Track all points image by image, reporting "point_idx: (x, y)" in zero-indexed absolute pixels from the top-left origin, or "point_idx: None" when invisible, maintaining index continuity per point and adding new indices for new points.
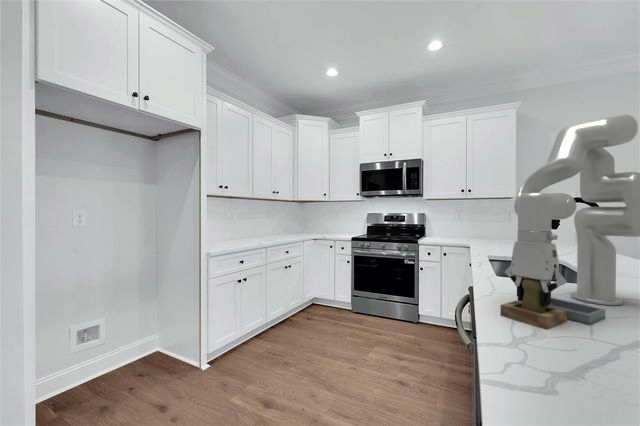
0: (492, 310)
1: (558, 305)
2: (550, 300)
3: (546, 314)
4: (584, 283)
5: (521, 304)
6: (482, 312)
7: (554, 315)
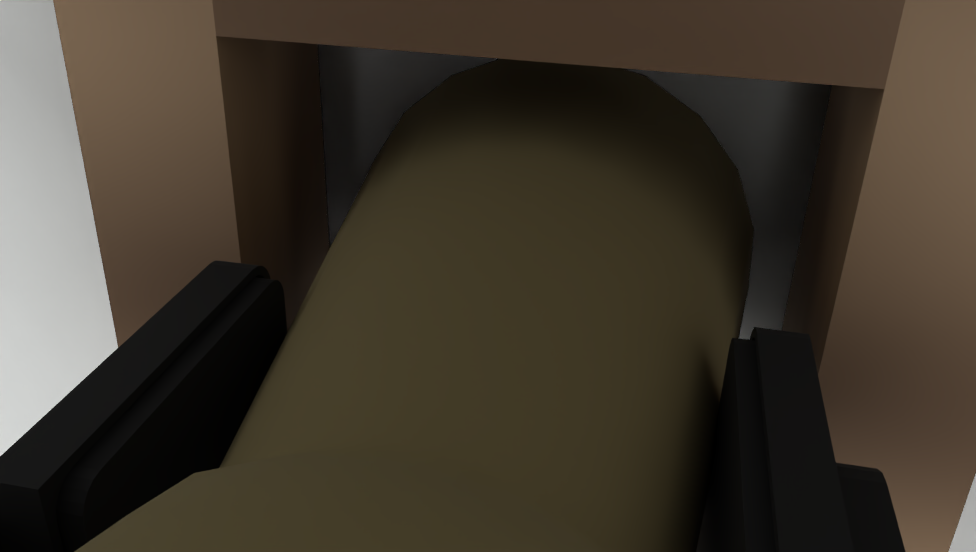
0: (56, 351)
1: None
2: (888, 525)
3: None
4: None
5: (246, 203)
6: None
7: (955, 511)
